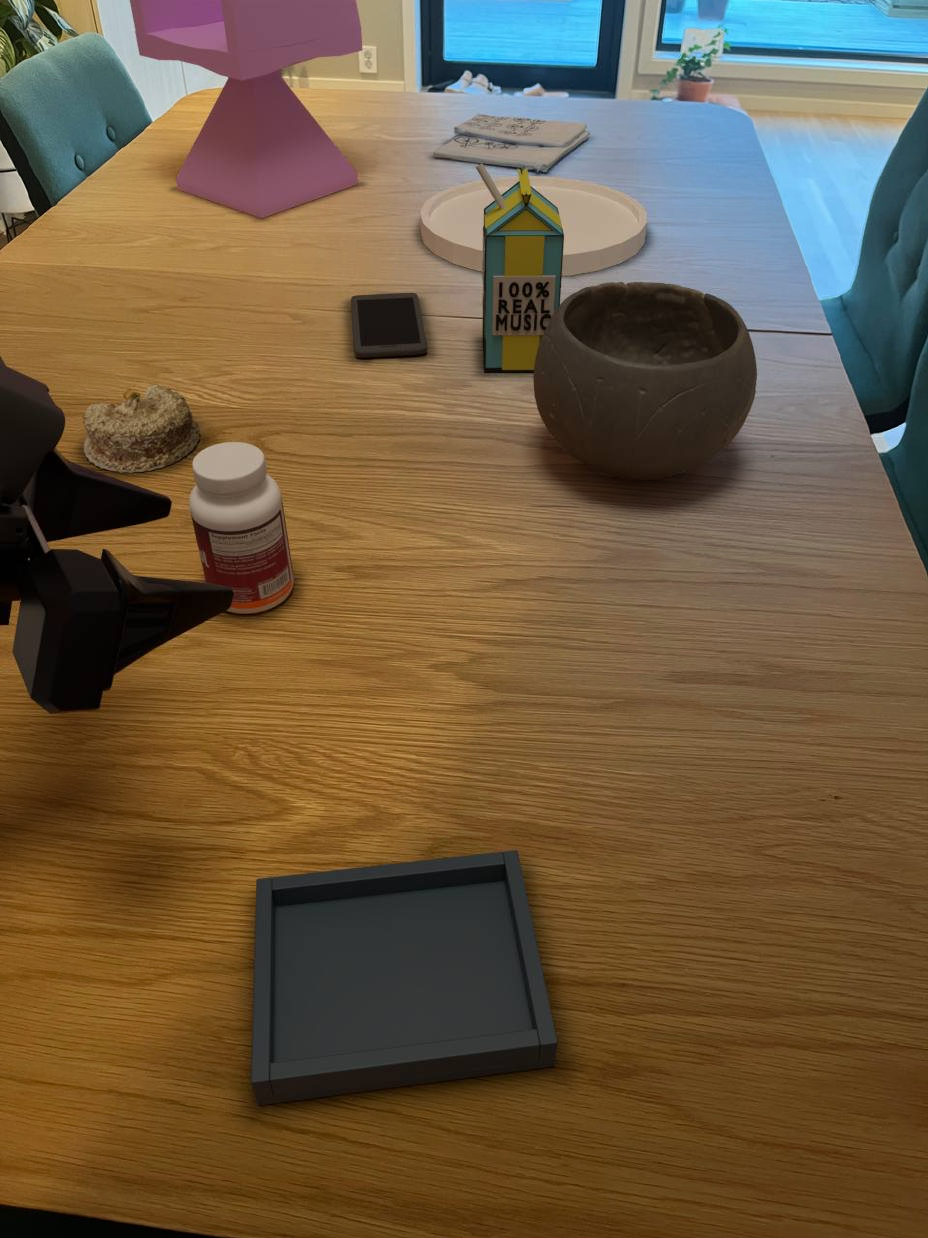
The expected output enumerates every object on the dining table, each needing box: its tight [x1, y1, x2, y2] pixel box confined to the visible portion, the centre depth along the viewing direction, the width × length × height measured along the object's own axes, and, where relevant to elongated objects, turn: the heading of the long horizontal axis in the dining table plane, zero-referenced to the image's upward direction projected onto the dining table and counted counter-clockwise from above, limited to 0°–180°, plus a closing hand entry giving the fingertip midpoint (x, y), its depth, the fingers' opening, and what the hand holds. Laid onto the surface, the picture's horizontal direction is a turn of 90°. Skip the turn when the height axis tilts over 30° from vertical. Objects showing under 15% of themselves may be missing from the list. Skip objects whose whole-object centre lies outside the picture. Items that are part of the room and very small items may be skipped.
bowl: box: [533, 281, 758, 481], centre depth 83 cm, size 18×18×13 cm
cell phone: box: [350, 292, 428, 359], centre depth 106 cm, size 7×14×1 cm, turn 7°
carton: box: [475, 163, 564, 374], centre depth 96 cm, size 7×8×18 cm
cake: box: [82, 384, 201, 474], centre depth 87 cm, size 10×10×5 cm
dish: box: [250, 849, 558, 1106], centre depth 50 cm, size 14×11×2 cm
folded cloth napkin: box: [433, 113, 591, 173], centre depth 153 cm, size 19×20×2 cm
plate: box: [419, 175, 648, 277], centre depth 126 cm, size 28×28×2 cm
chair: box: [129, 0, 363, 219], centre depth 131 cm, size 20×20×30 cm
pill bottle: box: [188, 441, 295, 615], centre depth 70 cm, size 6×6×11 cm
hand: (198, 550), depth 53 cm, fingers open, 9 cm apart
